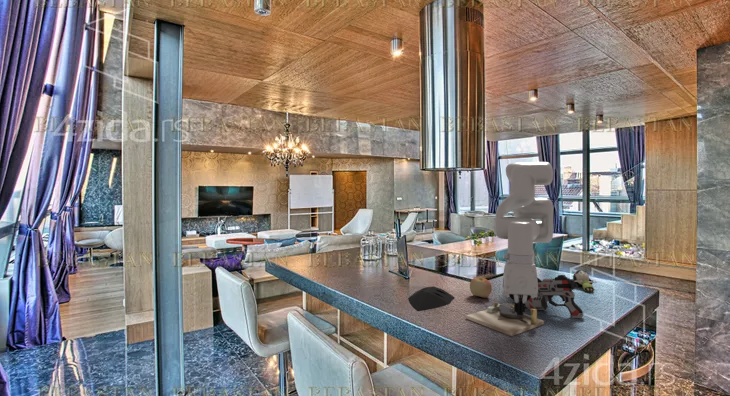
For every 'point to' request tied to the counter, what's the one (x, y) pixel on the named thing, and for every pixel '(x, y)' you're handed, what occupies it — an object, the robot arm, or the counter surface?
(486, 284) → the apple
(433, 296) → the mask
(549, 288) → the toy blaster
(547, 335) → the counter surface
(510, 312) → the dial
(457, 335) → the counter surface
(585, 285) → the toy
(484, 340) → the counter surface
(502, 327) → the board
